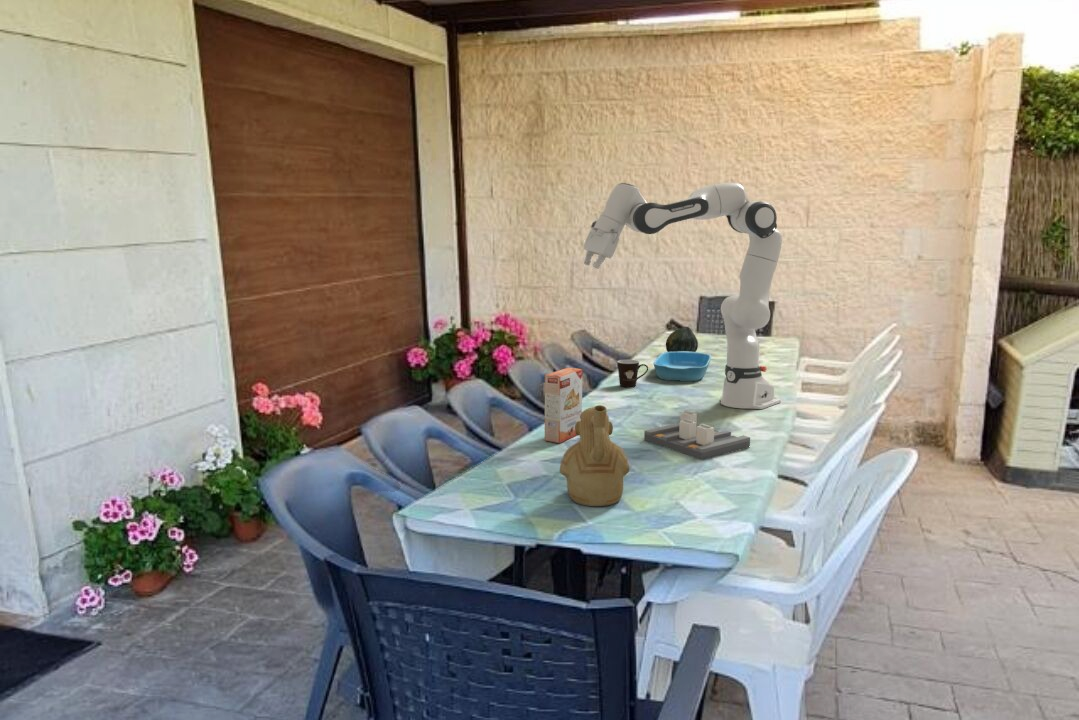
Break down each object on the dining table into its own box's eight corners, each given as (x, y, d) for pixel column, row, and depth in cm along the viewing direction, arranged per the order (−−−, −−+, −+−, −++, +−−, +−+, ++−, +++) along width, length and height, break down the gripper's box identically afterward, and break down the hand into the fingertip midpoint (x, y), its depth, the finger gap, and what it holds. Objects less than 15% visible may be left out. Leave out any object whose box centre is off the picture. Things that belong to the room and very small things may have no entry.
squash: (658, 342, 385) (669, 321, 374) (686, 341, 390) (697, 321, 379) (667, 364, 377) (678, 345, 366) (695, 364, 382) (707, 344, 370)
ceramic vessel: (623, 483, 202) (624, 389, 198) (635, 512, 183) (636, 408, 178) (557, 485, 202) (557, 390, 197) (562, 514, 183) (561, 409, 178)
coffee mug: (614, 387, 312) (614, 362, 310) (620, 383, 320) (620, 359, 318) (643, 389, 308) (643, 364, 306) (648, 385, 316) (648, 360, 314)
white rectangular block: (686, 435, 236) (686, 417, 235) (696, 438, 233) (696, 420, 232) (679, 437, 235) (679, 419, 234) (688, 440, 231) (689, 422, 230)
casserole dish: (704, 385, 316) (705, 367, 314) (649, 382, 322) (649, 365, 321) (713, 367, 350) (713, 352, 349) (663, 365, 357) (663, 349, 356)
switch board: (691, 429, 252) (691, 420, 251) (749, 447, 232) (750, 437, 232) (644, 439, 241) (644, 430, 240) (701, 459, 221) (701, 449, 220)
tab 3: (703, 441, 231) (704, 422, 230) (713, 444, 227) (714, 425, 226) (696, 442, 229) (696, 424, 228) (706, 446, 226) (706, 427, 225)
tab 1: (687, 426, 246) (687, 409, 245) (696, 429, 243) (696, 412, 242) (680, 428, 244) (680, 410, 243) (689, 431, 241) (689, 413, 240)
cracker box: (560, 444, 237) (560, 376, 233) (543, 441, 240) (543, 374, 236) (583, 433, 249) (583, 368, 245) (566, 430, 252) (566, 366, 248)
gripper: (627, 235, 254) (609, 274, 255) (605, 230, 273) (588, 266, 274) (611, 226, 252) (592, 266, 253) (590, 222, 271) (573, 259, 272)
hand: (590, 266), depth 264 cm, fingers open, 8 cm apart
